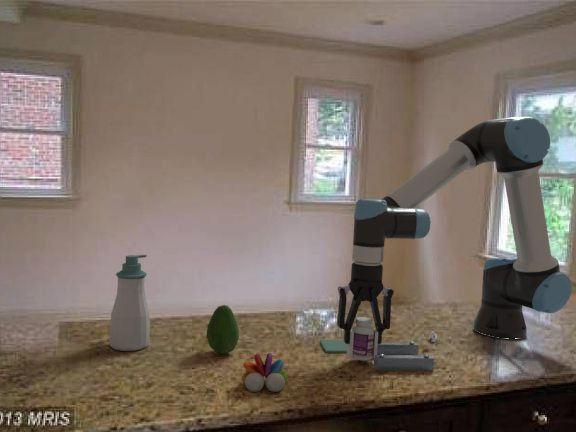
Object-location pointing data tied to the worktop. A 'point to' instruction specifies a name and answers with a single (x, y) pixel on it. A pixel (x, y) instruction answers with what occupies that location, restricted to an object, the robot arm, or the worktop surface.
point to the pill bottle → (363, 339)
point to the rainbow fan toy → (264, 374)
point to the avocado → (223, 330)
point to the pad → (334, 346)
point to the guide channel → (401, 358)
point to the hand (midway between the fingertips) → (361, 356)
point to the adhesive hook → (433, 336)
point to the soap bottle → (130, 309)
